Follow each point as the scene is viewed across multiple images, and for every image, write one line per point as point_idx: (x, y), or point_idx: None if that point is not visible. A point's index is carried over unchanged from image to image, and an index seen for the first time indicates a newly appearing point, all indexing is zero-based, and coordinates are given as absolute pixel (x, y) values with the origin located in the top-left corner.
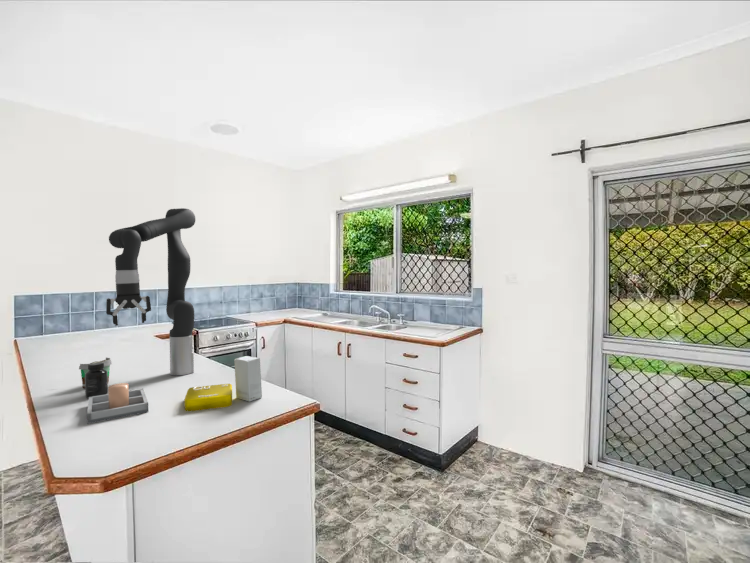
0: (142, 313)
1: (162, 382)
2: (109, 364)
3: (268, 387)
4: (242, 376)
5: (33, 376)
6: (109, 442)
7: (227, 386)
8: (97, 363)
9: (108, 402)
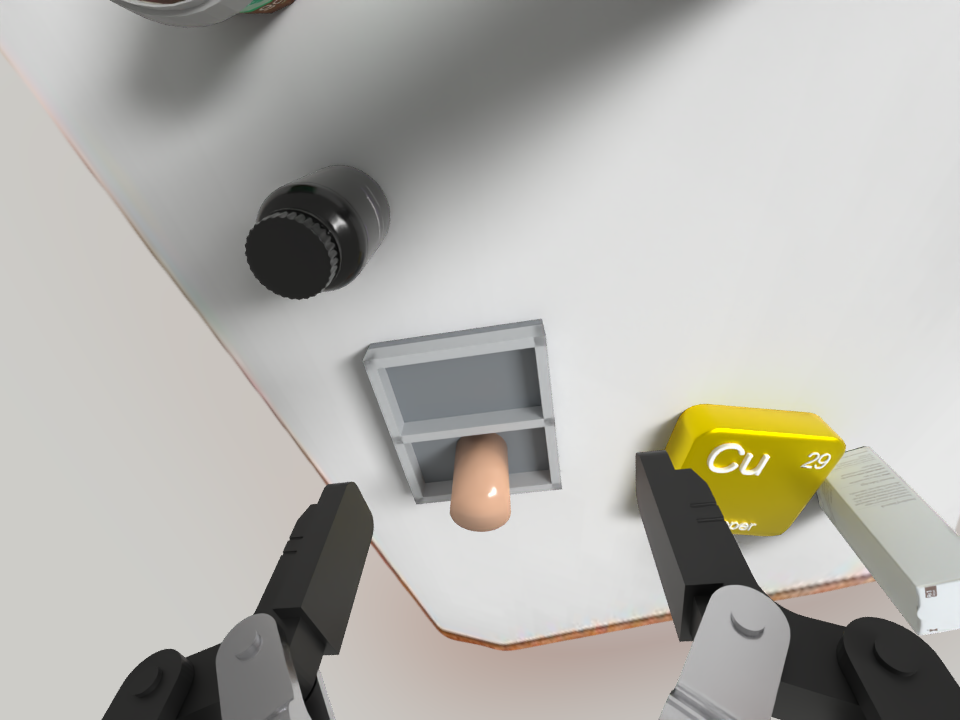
0: (693, 633)
1: (637, 96)
2: None
3: None
4: (868, 558)
5: None
6: (490, 573)
7: (818, 470)
8: (294, 256)
9: (446, 436)
